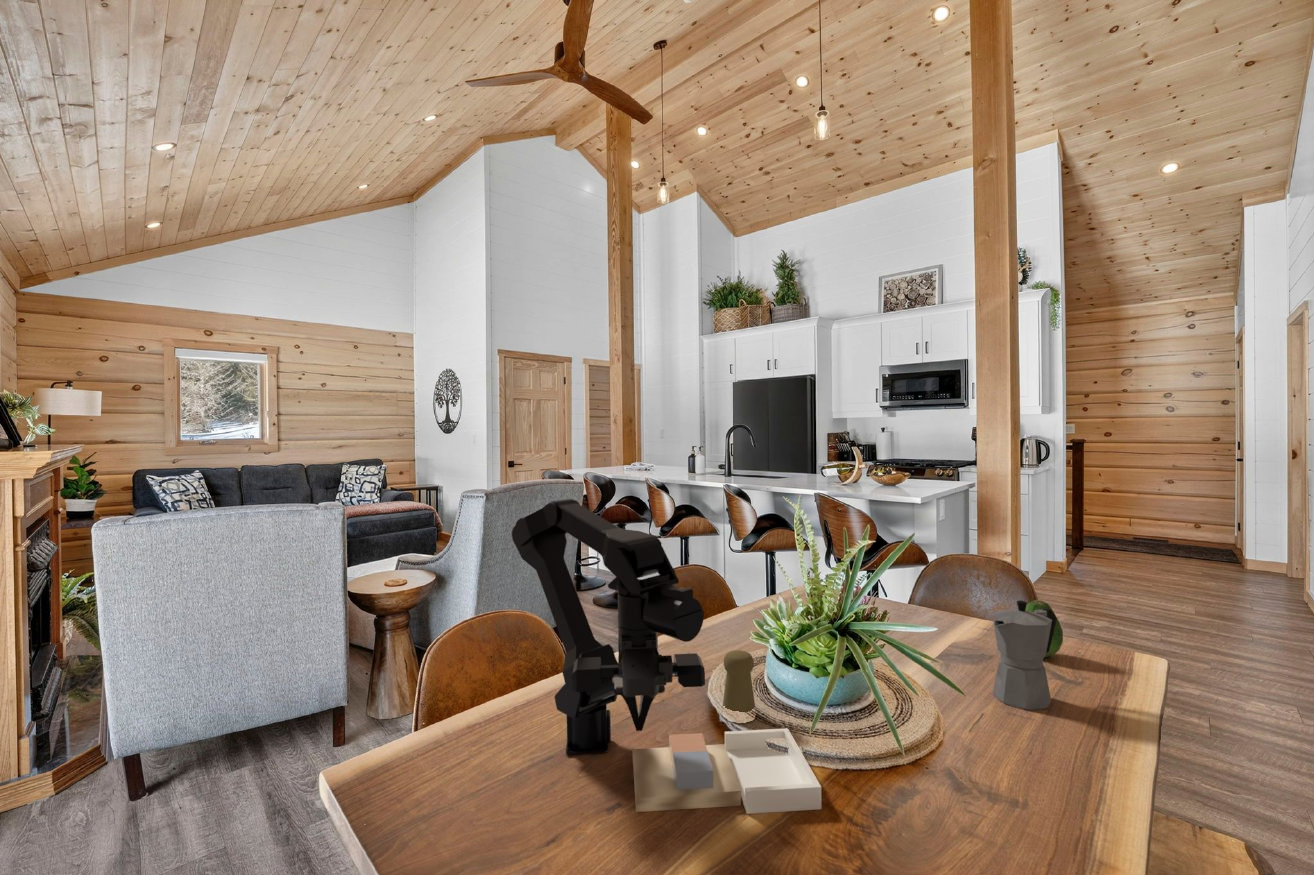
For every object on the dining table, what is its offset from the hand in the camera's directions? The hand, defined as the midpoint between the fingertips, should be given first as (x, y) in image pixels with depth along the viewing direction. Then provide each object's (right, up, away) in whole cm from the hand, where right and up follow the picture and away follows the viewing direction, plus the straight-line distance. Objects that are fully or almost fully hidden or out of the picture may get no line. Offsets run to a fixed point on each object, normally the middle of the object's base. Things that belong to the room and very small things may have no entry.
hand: (639, 729), depth 91 cm
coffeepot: (+70, -5, +23) cm, 73 cm away
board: (+6, -7, -2) cm, 9 cm away
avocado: (+84, -4, +42) cm, 94 cm away
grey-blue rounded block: (+7, -5, -4) cm, 10 cm away
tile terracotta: (+7, -5, +1) cm, 8 cm away
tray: (+18, -6, -1) cm, 19 cm away
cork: (+17, -6, +18) cm, 25 cm away
